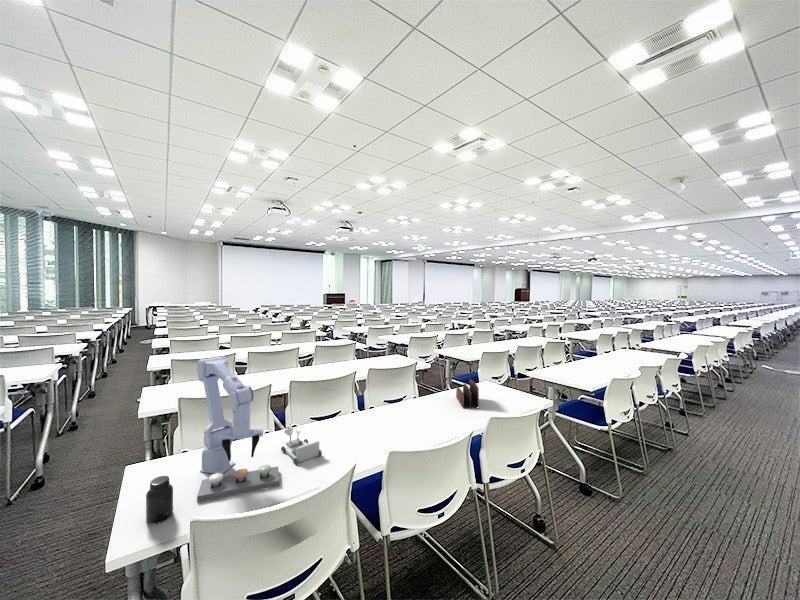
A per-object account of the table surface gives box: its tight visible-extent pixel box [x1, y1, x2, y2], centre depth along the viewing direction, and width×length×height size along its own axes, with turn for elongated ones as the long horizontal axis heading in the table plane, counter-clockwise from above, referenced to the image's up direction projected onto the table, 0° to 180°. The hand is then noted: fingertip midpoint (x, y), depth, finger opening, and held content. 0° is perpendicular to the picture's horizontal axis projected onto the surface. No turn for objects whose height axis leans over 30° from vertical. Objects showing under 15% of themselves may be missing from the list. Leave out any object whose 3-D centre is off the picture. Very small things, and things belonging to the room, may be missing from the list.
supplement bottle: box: [145, 475, 174, 524], centre depth 103 cm, size 7×7×12 cm
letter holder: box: [455, 378, 480, 409], centre depth 213 cm, size 10×20×14 cm, turn 3°
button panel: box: [196, 466, 280, 502], centre depth 120 cm, size 26×10×2 cm, turn 113°
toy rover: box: [280, 427, 323, 466], centre depth 144 cm, size 18×10×12 cm
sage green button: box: [257, 464, 272, 478], centre depth 123 cm, size 4×4×3 cm
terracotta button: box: [233, 468, 249, 482], centre depth 120 cm, size 4×4×3 cm
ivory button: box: [208, 473, 224, 487], centre depth 117 cm, size 4×4×3 cm
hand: (241, 457), depth 120 cm, fingers open, 7 cm apart
